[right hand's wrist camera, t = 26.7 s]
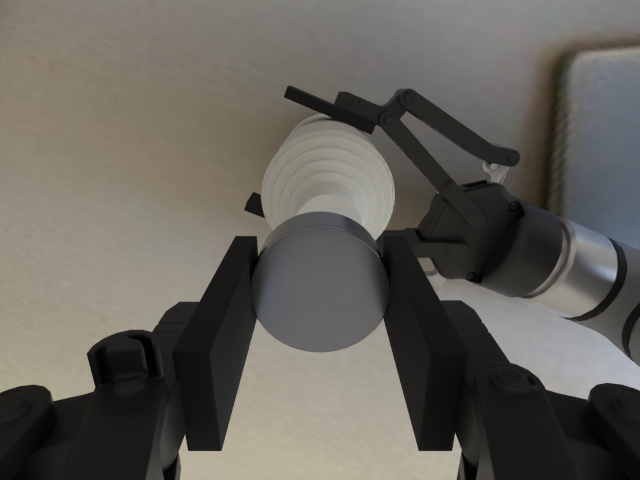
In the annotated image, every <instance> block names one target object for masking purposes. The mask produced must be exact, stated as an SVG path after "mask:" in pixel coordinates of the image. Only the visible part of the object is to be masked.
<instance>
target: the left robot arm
mask: <svg viewBox="0 0 640 480" xmlns="http://www.w3.org/2000/svg"><path fill="white" fill-rule="evenodd" d="M284 97H285V98H287V99H289V100H292V101H294V102H296V103H299V104H301V105H303V106H306V107H308V108H310V109H313V110H315V111H317V112H320V113H322V114H324V115H327V116H329V117H332V118H334V119H336V120H339V121H341V122H343V123H346V124H348V125H350V126H353V127H355V128H357V129H360V130H362V131H364V132H367V133H369V134H371V135H372V132H373V130H374V128H375V126H376V125H378V126H380V127H381V128H382V129H383V130H384V131H385V132H386V133H387V135H388V136H389V137H390V138H391V139H392V140H393V141H394V142H395V143H396V145H397V146H398V147H399V148H400V149H401V150H402V151H403V152H404V154H405V155H406V156H407V157H408V158H409V159H410V160H411V161H412V162H413V164H414V165H415V166H416V167H417V168H418V169H419V170H420V171H421V172H422V174H423V175H424V176H425V177H426V178H427V179H428V180H429V182H430V183H431V184H432V185H433V186H434V187H435V188H436V189H437V191H438V192H439V194H438V195H437V194H435V196H434V198H433V200H432V202H431V205H430V209H429V212H428V213H427V215H426V216H425V217H424V218H423V219H422V221H421V222H420V224H419V226H418V228H406V229H404V230H385V231H383V232H382V234H381V235H380V236H379V237H378V238H377V239H376V240H375V242H376V243H377V245H378V247H379V250H380V253H381V256H382V252H383V236H405V238H406V240H407V241H408V243H409V245H410V247H411V249H412V250H413V252H414V254H415V256H416V258H427V257H430V259H431V261H432V263H433V264H434V266H435V268H434V269H433V270H431V271H425V270H424V272H425V274H426V276H427V278H428V280H429V281H430V283H431V285H432V287H433V289H434V291H435V292H436V291H437V290H438V288H439V287H440V286H441V285H442V284H443V283H444V281H445V280H446V279H465V280H468V281H470V282H472V283H474V284H477V285H480V286H482V287H485V288H487V289H490V290H493V291H495V292H498V293H500V294H503V295H505V296H508V297H514V298H515V299H517V300H519V301H520V302H523V303H525V304H528V305H531V306H534V307H536V308H539V309H542V310H545V311H547V312H550V313H553V314H556V315H558V316H560V317H562V318H565V319H567V320H571V321H573V322H576V323H578V324H580V325H583V326H585V327H588V328H590V329H593V330H595V331H597V332H599V333H601V334H602V335H604V336H605V337H606V338H608V339H609V340H610V341H611V342H612V343H613V344H614V345H615V346H617V347H618V348H619V349H620V350H621V351H622V352H623V353H624V354H625V355H626V356H627V357H629V358H630V359H631V360H632V361H634V362H635V363H636V364H637V365H638V366H640V251H639V250H636V249H634V248H631V247H629V246H626V245H624V244H621V243H619V242H616V241H614V240H612V239H610V238H608V237H607V236H604V235H602V234H600V233H597V232H595V231H593V230H590V229H588V228H586V227H584V226H581V225H579V224H577V223H574V222H572V221H570V220H567V219H565V218H562V217H559V216H555V215H554V214H553V213H551V212H549V211H546V210H544V209H542V208H539V207H537V206H535V205H532V204H530V203H528V202H525V201H523V200H521V199H518V198H516V197H514V196H511V195H510V194H509V193H508V192H507V190H506V189H505V187H504V186H503V182H504V180H505V177H506V175H507V172H508V170H509V167H512V166H515V165H516V164H517V163H518V162H519V160H520V154H519V153H518V151H516V150H513V149H510V148H507V147H505V146H502V145H498V144H493V143H489V142H487V141H486V140H484V139H483V138H481V137H480V136H478V135H477V134H476V133H474V132H473V131H471V130H470V129H468V128H467V127H466V126H464V125H463V124H461V123H460V122H458V121H457V120H456V119H454V118H453V117H451V116H450V115H448V114H447V113H445V112H444V111H443V110H441V109H440V108H438V107H437V106H435V105H434V104H433V103H431V102H430V101H428V100H427V99H425V98H424V97H423V96H421V95H420V94H418V93H417V92H415V91H414V90H412V89H399V90H397V91H396V92H395V95H394V96H393V97H392V98H391V99H390V100H389V101H388V102H387V103H386V104H384V105H376V104H373V103H371V102H369V101H367V100H364V99H362V98H360V97H357V96H355V95H353V94H351V93H348V92H339V93H338V95H337V98H336V100H335V103H334V104H332V103H330V102H327V101H325V100H323V99H320V98H318V97H316V96H313V95H311V94H309V93H307V92H304V91H302V90H300V89H297V88H295V87H293V86H288V87H287V90H286V93H285V95H284ZM406 111H407V112H409V113H410V114H412V115H413V116H415V117H416V118H418V119H419V120H421V121H422V122H424V123H425V124H426V125H428V126H429V127H431V128H432V129H434V130H435V131H437V132H438V133H440V134H441V135H443V136H444V137H445V138H447V139H448V140H450V141H451V142H453V143H454V144H456V145H457V146H459V147H460V148H462V149H463V150H465V151H466V152H468V153H470V154H472V155H474V156H476V157H478V158H479V159H478V167H479V168H480V169H481V170H483V171H484V172H485V173H486V180H481V181H477V182H473V183H468V184H464V185H460V186H458V185H457V184H456V183H455V182H454V181H453V180H452V179H451V178H450V176H449V175H448V174H447V173H446V172H445V171H444V170H443V168H442V167H441V166H440V165H439V164H438V163H437V162H436V160H435V159H434V158H433V157H432V156H431V155H430V154H429V152H428V151H427V150H426V149H425V148H424V147H423V146H422V144H421V143H420V142H419V141H418V140H417V139H416V138H415V136H414V135H413V134H412V133H411V132H410V131H409V130H408V128H407V127H406V126H405V125H404V124H403V123H402V122H401V120H400V118H401V117H402V115H403V114H404V113H405V112H406ZM244 210H245V211H247V212H250V213H253V214H255V215H258V216H261V217H263V218H265V215H264V212H263V208H262V202H261V195H260V194H257V193H255V192H253V193H252V195H251V197H250V198H249V200H248V201H247V204H246V207H245V209H244Z"/></svg>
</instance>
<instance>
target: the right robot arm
mask: <svg viewBox="0 0 640 480" xmlns="http://www.w3.org/2000/svg"><path fill="white" fill-rule="evenodd" d="M382 258H383V261H384V264H385V267H386V270H387V273H388V276H389V280H390V291H389V304H388V308H387V310H386V313H385V315H384V317H383V319H384V322H385V326H386V330H387V334H388V337H389V341H390V345H391V349H392V352H393V356H394V360H395V363H396V367H397V371H398V375H399V378H400V382H401V386H402V390H403V393H404V397H405V401H406V405H407V408H408V412H409V416H410V420H411V423H412V427H413V431H414V435H415V438H416V442H417V446H418V449H419V451H452V448H453V442H454V436H455V433H456V436H457V438H458V441H459V443H460V446H461V449H462V452H461V458H460V464H459V469H458V475H457V480H640V391H639V390H637V389H634V388H631V387H628V386H624V385H620V384H611V383H604V384H599V385H596V386H595V387H594V388H592V389H591V391H590V394H589V397H588V400H586V399H581V398H577V397H572V396H568V395H563V394H559V393H555V392H552V391H548V390H546V389H545V387H544V385H543V384H542V383H541V381H540V380H539V378H538V377H536V376H535V375H534V374H533V373H531V372H530V371H529V370H527V369H525V368H523V367H520V366H518V365H516V364H512V363H510V362H509V360H508V359H507V357H506V356H505V354H504V353H503V352H502V350H501V349H500V347H499V346H498V344H497V343H496V341H495V340H494V338H493V337H492V335H491V334H490V333H488V329H487V328H486V326H485V325H484V323H482V320H481V319H480V318H479V316H478V315H477V313H476V312H475V310H474V309H472V308H471V307H469V306H468V305H467V304H465V303H464V302H462V301H440V300H439V298H438V296H437V294H436V292H435V291H434V289H433V287H432V285H431V283H430V281H429V280H428V278H427V276H426V274H425V272H424V270H423V269H422V267H421V265H420V263H419V261H418V260H417V258H416V256H415V254H414V252H413V250H412V249H411V247H410V245H409V243H408V241H407V240H406V238H405V236H383V252H382ZM257 259H258V247H257V236H235V238H234V240H233V242H232V244H231V245H230V247H229V249H228V251H227V253H226V255H225V256H224V258H223V260H222V262H221V264H220V266H219V267H218V269H217V271H216V273H215V275H214V276H213V278H212V280H211V282H210V284H209V286H208V287H207V289H206V291H205V293H204V295H203V297H202V298H201V300H200V302H179V303H177V304H176V305H174V306H173V307H171V308H170V309H169V310H167V311H166V312H165V314H164V315H163V317H162V318H161V320H160V321H159V324H158V325H157V326H156V327H155V329H154V330H153V332H149V331H145V330H128V331H124V332H119V333H116V334H113V335H111V336H108V337H106V338H104V339H102V340H101V341H99V342H98V343H96V344H95V345H93V347H92V348H91V349H90V350H89V352H88V353H87V356H88V360H89V364H90V368H91V372H92V375H93V379H94V383H95V387H96V388H95V390H94V392H91V393H88V394H84V395H80V396H76V397H71V398H67V399H62V400H58V401H53V399H52V396H51V393H50V391H49V390H48V389H47V388H45V387H44V386H38V385H27V386H19V387H16V388H12V389H9V390H6V391H4V392H2V393H0V480H180V472H181V465H180V458H179V452H178V451H179V449H180V446H181V444H182V441H183V438H184V436H185V434H186V440H187V446H188V451H221V450H222V447H223V443H224V439H225V436H226V432H227V428H228V424H229V421H230V417H231V413H232V409H233V406H234V402H235V398H236V394H237V391H238V387H239V383H240V379H241V376H242V372H243V368H244V364H245V361H246V357H247V353H248V349H249V346H250V342H251V338H252V335H253V331H254V327H255V323H256V320H257V316H256V314H255V312H254V310H253V307H252V301H251V287H250V282H251V277H252V273H253V270H254V267H255V265H256V262H257Z"/></svg>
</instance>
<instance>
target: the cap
mask: <svg viewBox="0 0 640 480" xmlns="http://www.w3.org/2000/svg"><path fill="white" fill-rule="evenodd" d="M250 287H251V301H252V307H253V310H254V312H255V314H256V316H257V318H258V320H259V321H260V323H261V324H262V326H263V327H264V328H265V329H266V330H267V331H268V332H269V333H270V334H271V335H272V336H273V337H275V338H276V339H278V340H279V341H281V342H282V343H284V344H286V345H288V346H291V347H293V348H296V349H300V350H304V351H310V352H331V351H336V350H341V349H344V348H347V347H350V346H352V345H354V344H356V343H358V342H360V341H361V340H363V339H364V338H366V337H367V336H368V335H369V334H370V333H371V332H372V331H373V330H374V329H375V328H376V327H377V326H378V325H379V323H380V322H381V320H382V319H383V317H384V315H385V313H386V310H387V308H388V304H389V291H390V280H389V276H388V273H387V270H386V267H385V264H384V261H383V258H382V256H381V253H380V250H379V247H378V245H377V243H376V242H375V240H374V238H373V237H372V236H371V234H370V233H369V232H368V231H367V230H366V229H365V228H364V227H363V226H361V225H360V224H359V223H357V222H356V221H354V220H352V219H351V218H348V217H346V216H344V215H340V214H337V213H332V212H322V211H316V212H308V213H304V214H300V215H297V216H294V217H292V218H290V219H288V220H286V221H284V222H283V223H282V224H280V225H279V226H277V227H276V228H275V229H274V230H273V231H272V232H271V234H270V235H269V236H268V237H267V239H266V240H265V242H264V244H263V246H262V248H261V251H260V253H259V256H258V259H257V262H256V265H255V267H254V270H253V273H252V277H251V282H250Z"/></svg>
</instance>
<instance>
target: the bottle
mask: <svg viewBox="0 0 640 480" xmlns="http://www.w3.org/2000/svg"><path fill="white" fill-rule="evenodd" d="M394 201H395V188H394V182H393V177H392V174H391V172H390V169H389V167H388V165H387V163H386V161H385V160H384V159H383V157H382V156H381V154H380V153H379V152H378V150H377V149H376V148H375V147H374V145H373V144H372V143H371V141H370V140H369V139H368V137H367V136H366V135H365V133H364V132H363V131H362V130H360V129H357V128H355V127H353V126H350V125H348V124H346V123H343V122H341V121H339V120H336V119H334V118H332V117H329V116H327V115H324V114H322V113H320V114H316V115H312V116H310V117H308V118H306V119H304V120H302V121H301V122H300V123H299V124H297V125H296V127H295V128H294V129H293V130H292V131H291V133H290V134H289V136H288V137H287V139H286V140H285V141H284V143H283V144H282V146H281V147H280V149H279V150H278V152H277V153H276V155H275V156H274V157H273V159H272V160H271V162H270V164H269V166H268V168H267V169H266V172H265V175H264V178H263V182H262V188H261V202H262V208H263V212H264V215H265V218H266V221H267V223H268V225H269V227H270V228H271V230H272V231H273V230H274V229H275V228H276V227H277V226H279V225H280V224H282V223H283V222H284V221H286V220H288V219H290V218H292V217H294V216H297V215H300V214H304V213H308V212H316V211H322V212H332V213H337V214H340V215H344V216H346V217H348V218H351V219H352V220H354V221H356V222H357V223H359V224H360V225H361V226H363V227H364V228H365V229H366V230H367V231H368V232H369V233H370V234H371V236H372V237H373V238H374V240H376V239H377V238H378V237H379V236H380V235H381V234H382V232H383V231H384V229H385V228H386V226H387V224H388V222H389V220H390V218H391V215H392V212H393V207H394Z"/></svg>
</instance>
